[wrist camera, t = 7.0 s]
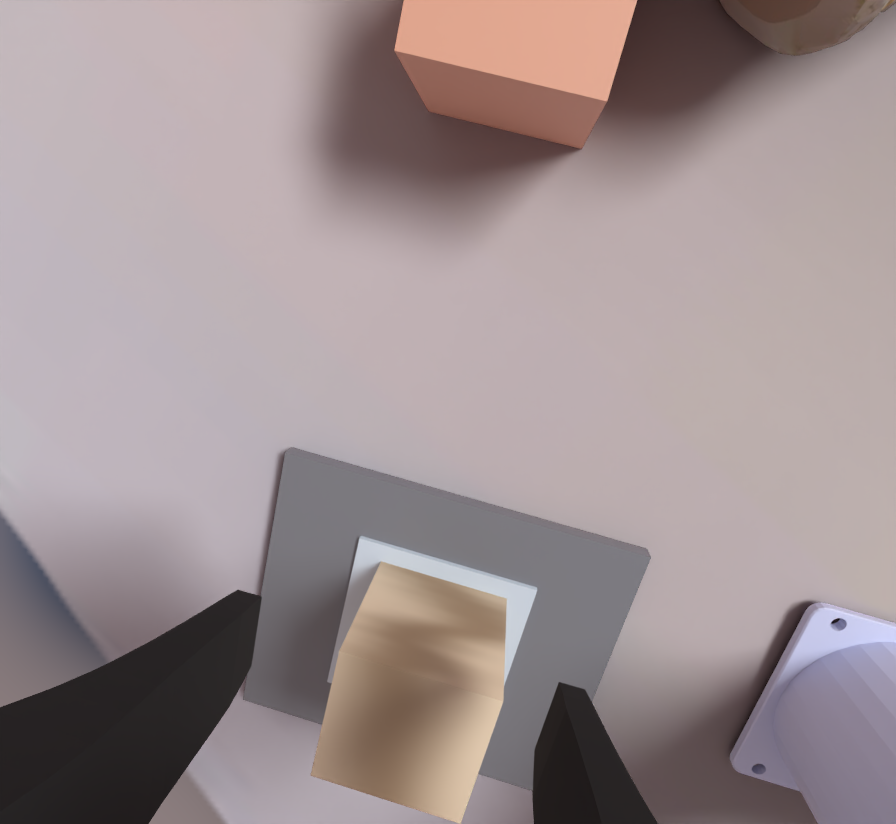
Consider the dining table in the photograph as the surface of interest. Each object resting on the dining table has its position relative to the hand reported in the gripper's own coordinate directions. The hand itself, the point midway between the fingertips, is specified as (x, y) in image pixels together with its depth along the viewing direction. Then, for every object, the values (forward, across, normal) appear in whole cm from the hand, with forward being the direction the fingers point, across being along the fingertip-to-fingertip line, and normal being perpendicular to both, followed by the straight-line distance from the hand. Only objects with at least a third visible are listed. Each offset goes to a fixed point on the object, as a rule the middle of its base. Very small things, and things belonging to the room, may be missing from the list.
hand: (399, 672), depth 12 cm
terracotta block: (+9, +1, -16) cm, 18 cm away
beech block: (+8, 0, +5) cm, 9 cm away
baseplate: (+8, 0, +5) cm, 10 cm away
